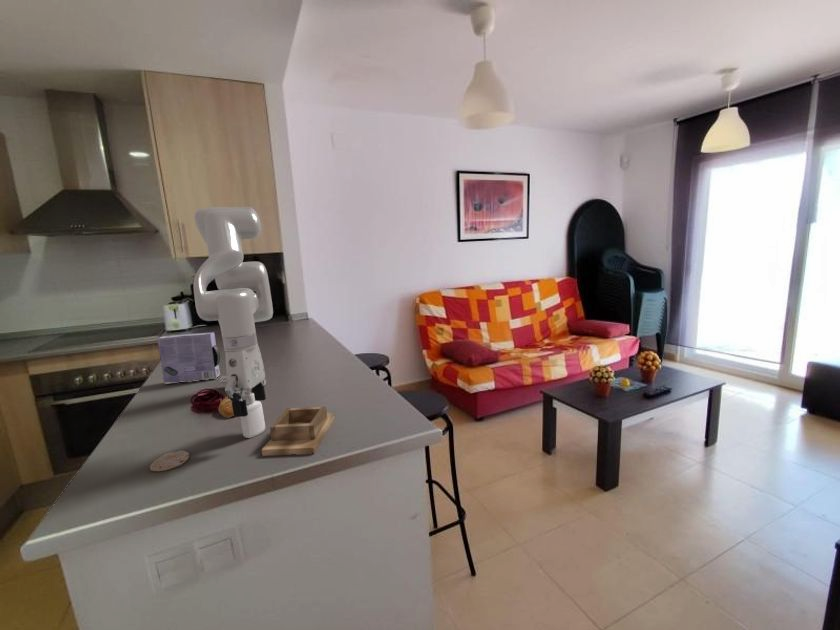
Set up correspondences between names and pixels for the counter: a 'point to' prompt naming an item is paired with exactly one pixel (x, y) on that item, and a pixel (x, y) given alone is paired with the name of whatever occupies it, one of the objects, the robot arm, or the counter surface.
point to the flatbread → (169, 461)
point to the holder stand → (298, 431)
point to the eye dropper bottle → (252, 417)
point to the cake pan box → (189, 357)
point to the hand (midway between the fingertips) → (250, 407)
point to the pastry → (226, 408)
